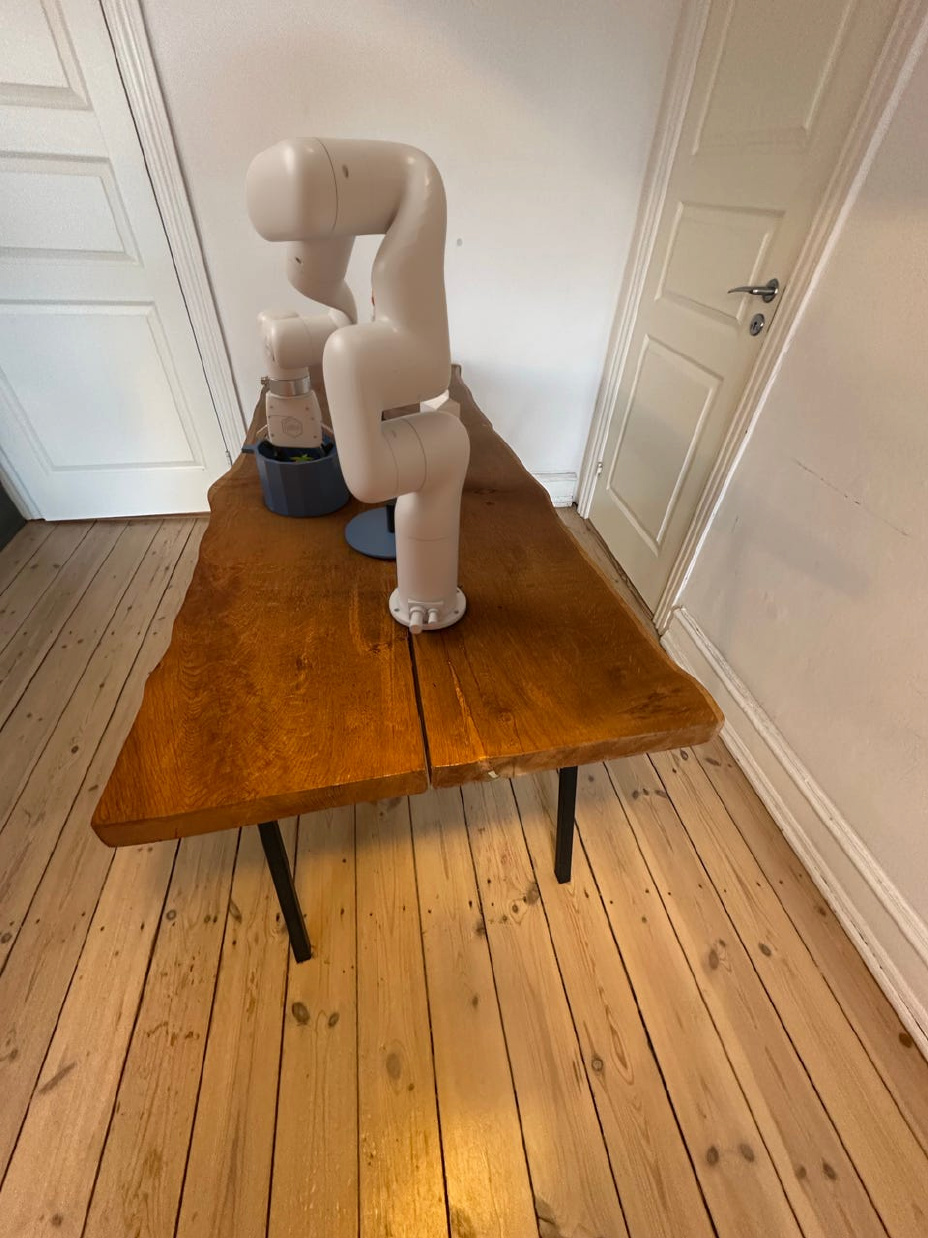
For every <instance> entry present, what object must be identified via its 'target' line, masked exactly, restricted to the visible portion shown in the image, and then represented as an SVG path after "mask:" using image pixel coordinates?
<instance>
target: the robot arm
mask: <svg viewBox="0 0 928 1238" xmlns="http://www.w3.org/2000/svg"><path fill="white" fill-rule="evenodd" d="M244 194H245V195H244V197H245V198H244V199H245V205H246V211H247V213H248V217H249V220H250V223H251V225H252V226H253V228H254V230H255V232H256V233H257V234H258V235H259V237H261V238H262V239H263V240H265V241H268V242H271V243H277V242H278V243H282V242H283V243H284V242H286V246H285V251H284V252H285V253H284V258H283V259H284V260H283V269H284V273H285V276H286V278H287V280H288V282H289V283H290V284H291V286H292V287H293V288H294V289H295V290H296V291H297V292H299V294H301V295H303V296H304V297H306V298H307V299H310V300H312V301H313V302H317V303H319V304H322V305H324V306H326V307H329V308H330V309H329V311H328V312H327V313H325V314H315V315H307V316H301V315H299V313H298V312H297V311H295V310H292V309H288V308H269V309H265V310H262V311H261V312H260V313H258V316H257V319H256V322H257V329H258V333H259V339H260V345H261V350H262V355H263V359H264V360H263V362H264V366H265V371H266V376H264V377H263V376H262V377H260V384H261V385H262V386H265V387H267V388H268V391H267V392H266V393H265V413H266V414H265V415H266V423H267V424H265V425H264V426H263V427H262V428H261V429H259V430H258V431H257V432H256V434H255V437H256V439H258V440H260V441H261V442H262V443H263V444H264V446H265V447H266V448H267V449H268V450H270V451H271V452H272V454H273V455H274V456H275V458H276V461H279V462H287V460H286V455H285V452H284V450H282V447H291V448H315V450H316V451H317V452H318V454H319V458H318V459H321V458H324V457H327V455H328V454H329V453H330V451H331V450H332V449H333V448H334V446H335V445H336V446H337V451H338V456H339V461H340V465H341V469H342V473H343V476H344V479H345V482H346V484H347V486H348V488H349V490H350V494H352V495H353V497H354V498H355V499H356V500H358V501H359V502H362V503H366V504H377V503H378V504H379V503H382V502H386V501H387V500H389V499H396V498H397V499H396V500H397V502H396V506H395V536H396V556H397V558H396V572H397V573H396V574H397V575H396V576H397V587H396V588H395V589H394V591H393V592H391V595H390V597H389V601H388V605H389V611H390V614H391V615H392V617H393V618H394V619H395V620H396V621H397V622H398V623H400V624H402V625H404V626H406V627H408V630H409V632H410V633H411V634H413V635H419V634H421V632H422V631H432V630H440V629H443V628H447V627H449V626H451V625H453V624H455V623H456V622H458V621H459V620H460V619H461V618H462V617H463V615H464V614H465V611H466V609H467V607H466V605H467V599H466V596H465V594H464V593H463V591H462V590H461V589H460V588H459V587H458V577H459V576H458V575H459V574H458V573H459V572H458V571H459V546H460V541H459V540H460V523H461V505H462V504H461V502H462V495H463V494H462V493H463V488H464V483H465V479H466V476H467V472H468V468H469V463H470V455H471V443H470V438H469V434H468V431H467V429H466V427H465V425H464V424H463V423H462V421H461V419H460V420H459V419H458V418H457V417H455V416H454V415H452V414H450V413H447V412H444V411H425V412H420V411H419V412H415V413H410V414H407V415H402V416H396V417H394V418H391V419H387V420H386V421H381V416H382V411H384V412H385V411H388V410H392V409H396V408H402V407H407V406H411V405H415V404H420V403H421V402H424V401H428V400H431V399H434V398H437V397H438V396H440V395H442V394H443V393H444V392H445V391H446V390H447V389H449V387H450V383H451V379H452V357H451V356H452V355H451V353H452V352H451V343H450V342H451V340H450V327H449V317H448V315H449V314H448V303H447V291H446V283H445V256H446V255H445V254H446V253H445V252H446V241H447V231H448V201H447V193H446V188H445V184H444V180H443V178H442V175H441V173H440V170H439V168H438V166H437V164H436V163H435V162H434V161H433V159H432V158H431V157H430V155H428V153H426V152H425V151H423V150H422V149H420V148H418V147H416V146H413V145H410V144H406V143H402V142H396V141H390V140H380V139H379V140H378V139H366V138H365V139H364V138H362V139H361V138H338V137H337V138H336V137H321V136H320V137H319V136H294V137H288V138H285V139H282V140H281V141H279V142H277V143H276V144H274V145H272V146H270V147H269V148H266V149H264V150H263V151H261V152H259V153H258V154H257V155H256V156H255V157H254V158H253V159H252V161H251V162H250V163H249V167H248V169H247V172H246V177H245V187H244ZM376 235H379V236H380V235H384V237H383V239H382V241H381V242H380V245H379V247H378V249H377V252H376V254H375V258H374V261H373V264H372V268H371V273H370V283H371V284H370V285H371V293H372V292H373V298H374V305H375V321H374V322H372V323H371V322H365V323H359V318H358V310H357V304H356V303H357V302H356V300H355V297H354V295H353V292H352V290H351V288H350V286H349V284H348V283H347V282H346V279H345V277H346V275H347V271H348V267H349V263H350V260H351V257H352V253H353V249H354V245H355V242H356V237H360V236H376ZM320 365H322V376H323V382H324V388H325V395H326V399H327V400H326V401H327V404H328V410H329V414H330V420H331V424H332V428H330V427H329V426H327V425H326V423H325V424H324V421H323V416H322V415H323V414H322V411H321V407H320V403H319V400H318V398H317V394H316V392H315V390H314V389H312V387H311V386H312V385H311V379H310V371H309V367H313V366H314V367H315V366H320ZM267 435H269V438H270V439H269V438H268V437H267ZM325 435H326V436H328V437H329V438H330V439H331V440H330V442H329V443H328V444H327V445H325V443H324V442H323V441H322V439H324V437H325Z"/></svg>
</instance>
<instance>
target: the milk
mask: <svg viewBox="0 0 928 1238" xmlns="http://www.w3.org/2000/svg"><path fill="white" fill-rule="evenodd" d="M425 411H444V412H447V413H450V414H452V415H454V416H455V417H457V418H458V419H459V420H460V421H461V403H459V402H457V401H455V400H453V399H452V398H450V391H449V388H447V390H446V391H445V392H444V393H443V394H442V395H440V396H438V397H437V398H434V399H431V400H428V401H424V402H421V403H419V413H420V412H425Z"/></svg>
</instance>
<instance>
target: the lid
mask: <svg viewBox="0 0 928 1238" xmlns="http://www.w3.org/2000/svg"><path fill="white" fill-rule="evenodd" d="M396 502H397V499H396V498H393V499H389V500H386V501H385V506H384V507H377V508H373V509H369V510H366V511H364V512H361V513H359V514H358V515H356V516H354V517H353V518H352V519H350V521H348V523H347V524H346V526H345V531H344V536H345V540H346V543H348V545H349V546H350V547H351V548H353V549H354V550H355V551H357V552H359V553H361V554H363V555H367V556H370V557H373V558H380V559H397V556H396V536H395V506H396Z"/></svg>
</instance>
